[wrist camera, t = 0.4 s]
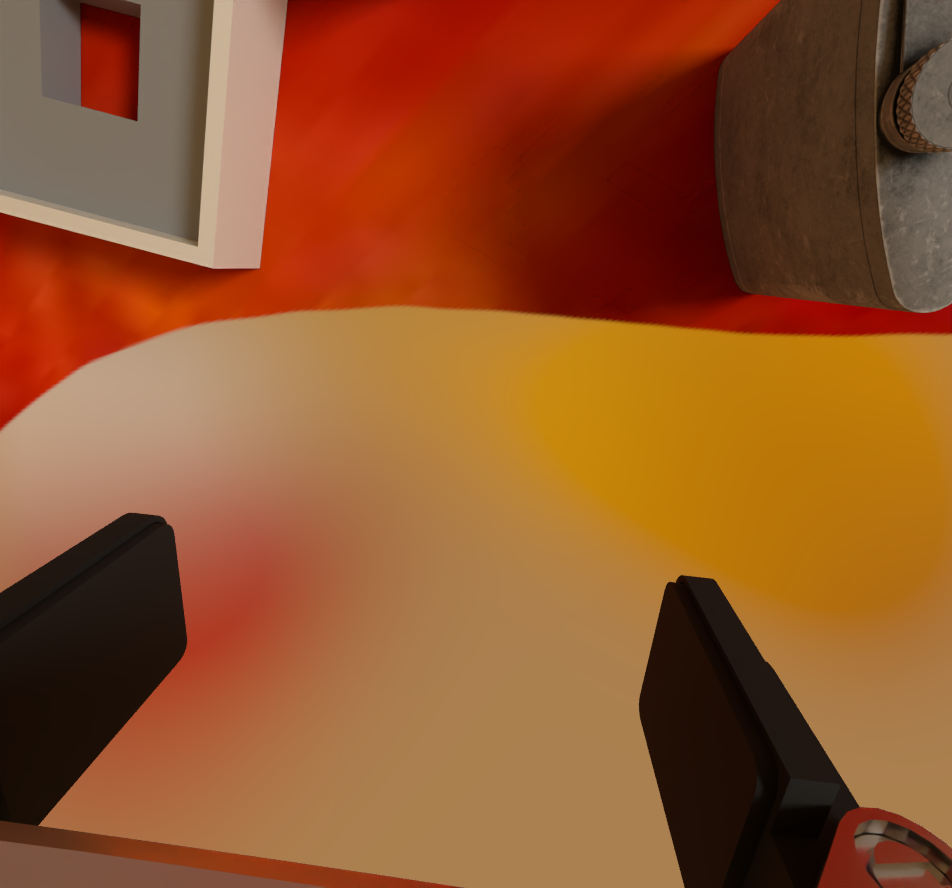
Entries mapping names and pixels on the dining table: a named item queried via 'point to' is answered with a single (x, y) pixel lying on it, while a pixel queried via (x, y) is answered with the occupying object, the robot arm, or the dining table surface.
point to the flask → (840, 153)
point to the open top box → (146, 127)
